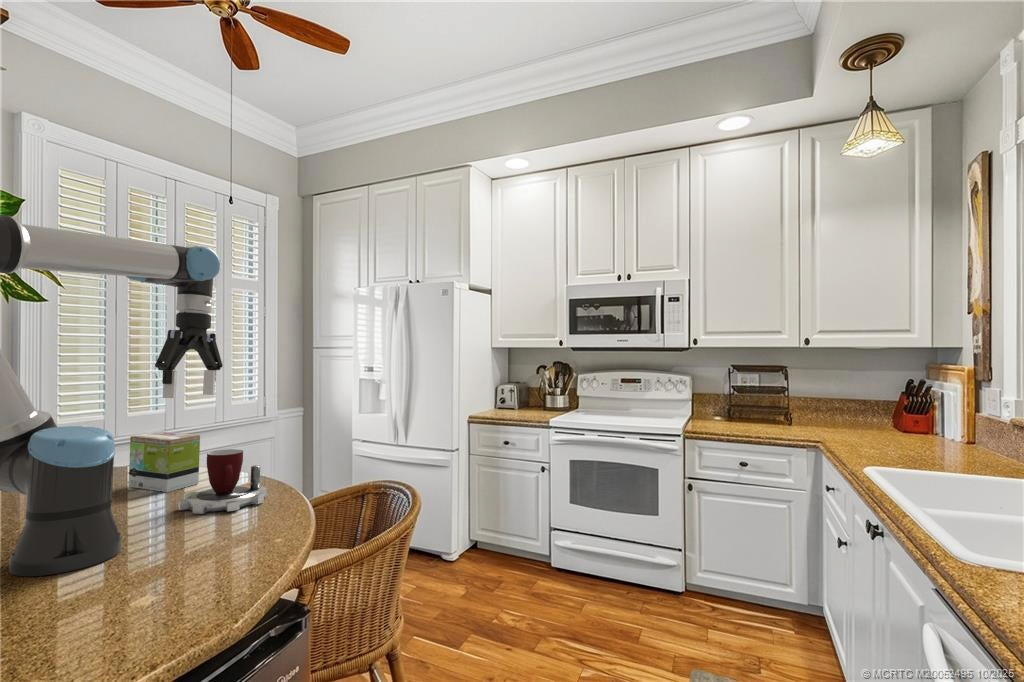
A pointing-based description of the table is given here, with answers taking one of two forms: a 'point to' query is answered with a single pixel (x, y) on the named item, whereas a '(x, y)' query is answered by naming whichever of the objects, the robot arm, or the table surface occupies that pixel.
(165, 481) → the tea box
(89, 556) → the robot arm
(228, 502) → the sprocket
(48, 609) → the table surface
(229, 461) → the mug
